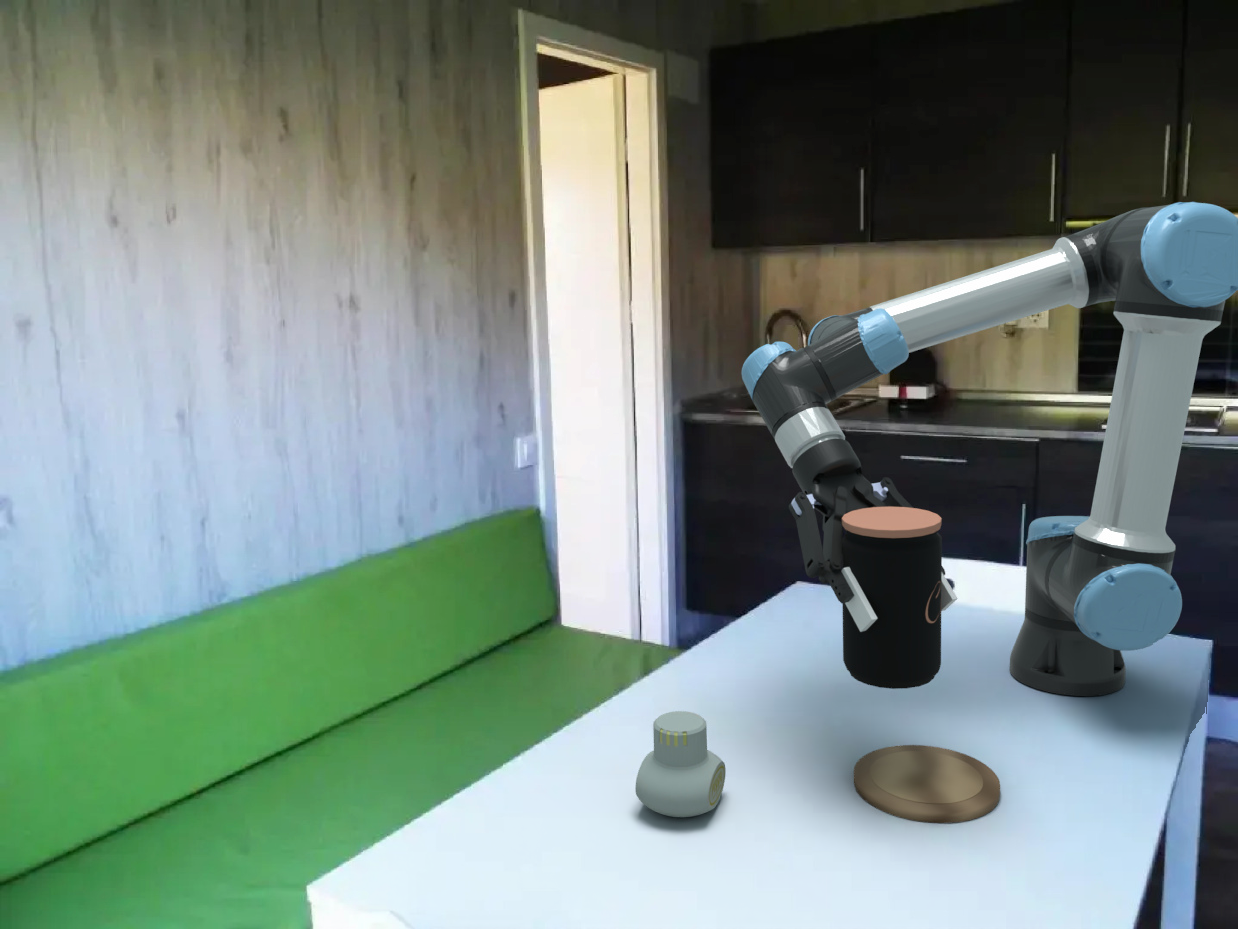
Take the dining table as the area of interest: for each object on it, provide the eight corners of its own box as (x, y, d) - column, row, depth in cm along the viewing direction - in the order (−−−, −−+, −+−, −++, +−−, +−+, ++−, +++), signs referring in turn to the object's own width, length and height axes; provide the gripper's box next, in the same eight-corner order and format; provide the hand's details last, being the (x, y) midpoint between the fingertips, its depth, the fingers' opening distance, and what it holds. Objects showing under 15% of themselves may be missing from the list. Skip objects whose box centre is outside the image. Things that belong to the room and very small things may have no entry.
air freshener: (662, 777, 124) (660, 697, 123) (730, 787, 122) (729, 706, 120) (630, 823, 114) (627, 737, 113) (703, 835, 112) (701, 747, 110)
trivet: (968, 751, 128) (968, 741, 128) (1024, 819, 112) (1024, 807, 112) (838, 757, 128) (838, 747, 127) (875, 827, 112) (876, 815, 112)
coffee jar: (945, 693, 112) (946, 530, 109) (843, 689, 115) (841, 529, 111) (936, 656, 123) (937, 506, 119) (843, 653, 125) (841, 506, 122)
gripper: (879, 460, 133) (970, 611, 123) (725, 486, 123) (809, 652, 113) (908, 424, 128) (1006, 578, 117) (749, 447, 118) (840, 619, 107)
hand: (909, 615), depth 115 cm, fingers closed on coffee jar, 11 cm apart
